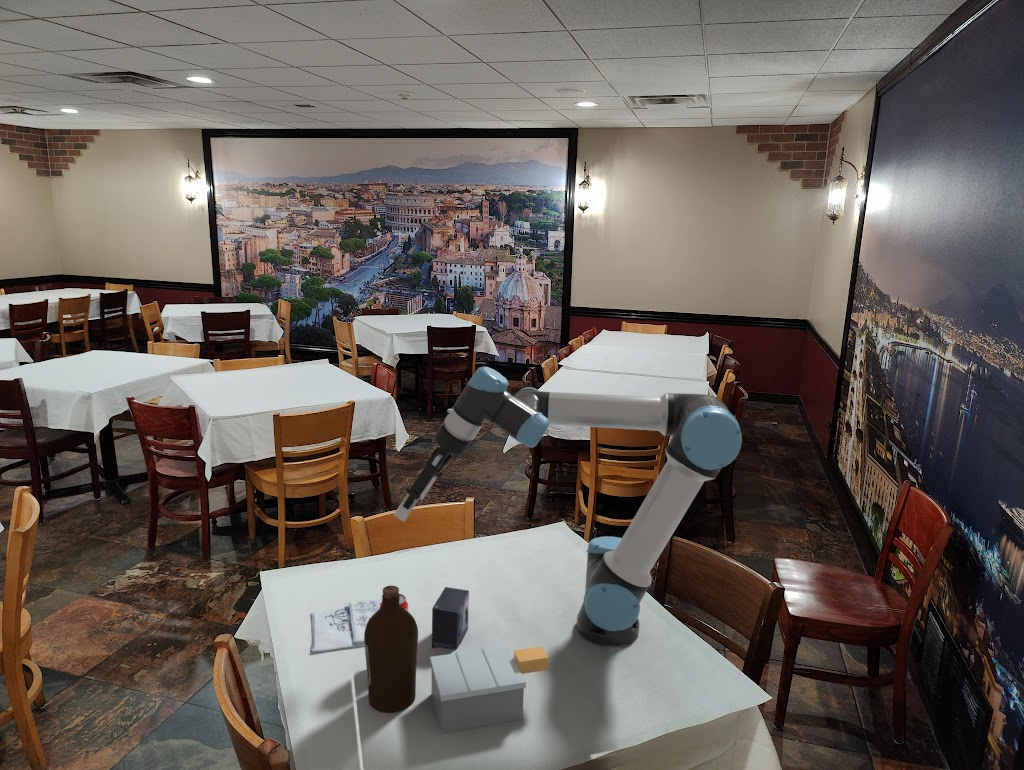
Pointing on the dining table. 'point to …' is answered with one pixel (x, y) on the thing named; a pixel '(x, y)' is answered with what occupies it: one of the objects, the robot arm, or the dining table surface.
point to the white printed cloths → (331, 623)
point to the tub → (478, 709)
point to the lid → (485, 671)
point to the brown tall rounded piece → (391, 655)
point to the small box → (450, 618)
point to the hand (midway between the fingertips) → (408, 506)
